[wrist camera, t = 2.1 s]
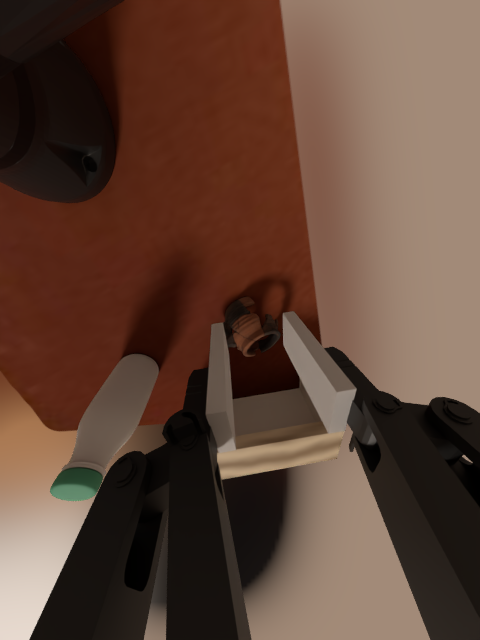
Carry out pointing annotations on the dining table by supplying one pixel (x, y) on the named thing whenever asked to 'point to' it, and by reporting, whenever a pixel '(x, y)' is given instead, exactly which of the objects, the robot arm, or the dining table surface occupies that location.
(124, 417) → the milk bottle
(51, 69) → the robot arm
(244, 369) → the dining table surface
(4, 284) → the dining table surface
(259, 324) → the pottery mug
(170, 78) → the dining table surface
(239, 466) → the small wooden bench
